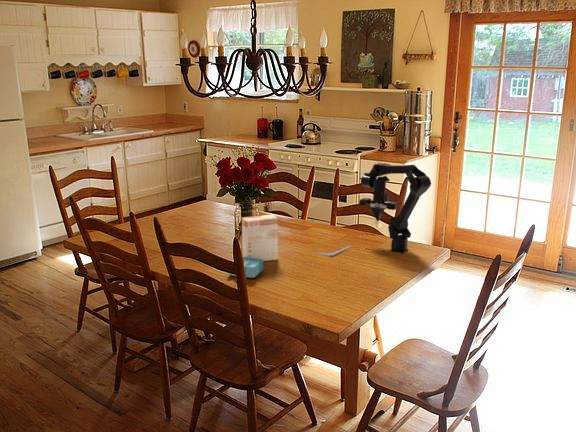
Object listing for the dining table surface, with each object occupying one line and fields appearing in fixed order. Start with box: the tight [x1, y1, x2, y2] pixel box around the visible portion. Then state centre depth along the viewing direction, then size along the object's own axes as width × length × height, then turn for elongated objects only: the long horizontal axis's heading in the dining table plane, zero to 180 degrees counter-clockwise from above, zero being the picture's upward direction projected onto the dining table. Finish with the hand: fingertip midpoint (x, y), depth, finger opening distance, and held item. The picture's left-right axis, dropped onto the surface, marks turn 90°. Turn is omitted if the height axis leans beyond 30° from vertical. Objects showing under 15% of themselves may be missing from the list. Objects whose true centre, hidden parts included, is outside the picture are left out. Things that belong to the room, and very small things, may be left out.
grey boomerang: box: [313, 245, 353, 258], centre depth 254 cm, size 14×18×1 cm
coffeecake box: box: [241, 214, 279, 262], centre depth 238 cm, size 15×7×20 cm, turn 111°
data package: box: [228, 256, 264, 279], centre depth 223 cm, size 12×4×12 cm
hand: (378, 221), depth 260 cm, fingers closed
